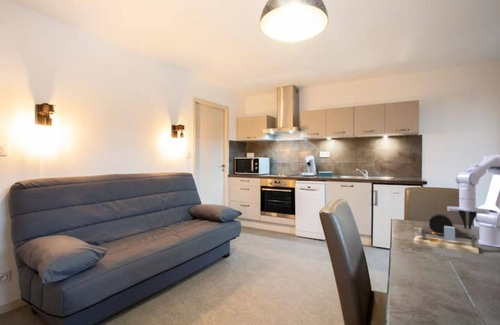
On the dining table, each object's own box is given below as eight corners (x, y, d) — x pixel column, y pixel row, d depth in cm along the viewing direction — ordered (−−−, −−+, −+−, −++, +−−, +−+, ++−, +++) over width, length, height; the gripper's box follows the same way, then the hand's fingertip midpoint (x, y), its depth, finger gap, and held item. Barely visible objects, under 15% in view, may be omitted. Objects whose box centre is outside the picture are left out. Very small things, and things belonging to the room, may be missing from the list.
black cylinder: (443, 230, 163) (452, 217, 161) (446, 238, 135) (457, 222, 133) (426, 221, 169) (435, 208, 167) (425, 227, 141) (435, 211, 139)
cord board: (477, 247, 119) (476, 233, 119) (478, 253, 111) (478, 238, 111) (415, 238, 134) (415, 225, 134) (413, 243, 126) (413, 229, 126)
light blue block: (454, 239, 121) (454, 226, 121) (455, 241, 118) (454, 228, 118) (444, 237, 124) (444, 225, 124) (444, 239, 121) (444, 227, 121)
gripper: (447, 198, 118) (447, 227, 119) (489, 201, 109) (490, 232, 110) (447, 196, 124) (447, 224, 124) (488, 198, 115) (488, 229, 115)
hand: (467, 228), depth 117 cm, fingers closed
